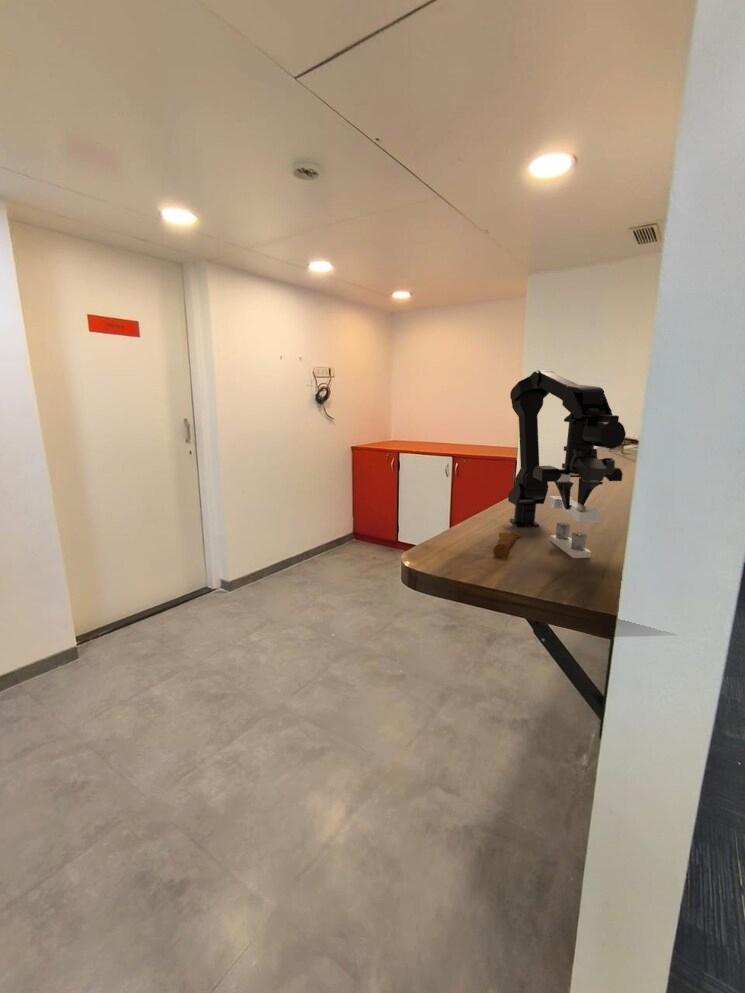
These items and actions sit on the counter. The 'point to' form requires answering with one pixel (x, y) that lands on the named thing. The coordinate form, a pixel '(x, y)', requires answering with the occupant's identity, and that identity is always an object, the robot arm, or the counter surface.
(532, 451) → the robot arm
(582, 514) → the spanner
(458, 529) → the counter surface
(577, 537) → the peg rack
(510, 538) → the primitive tool
